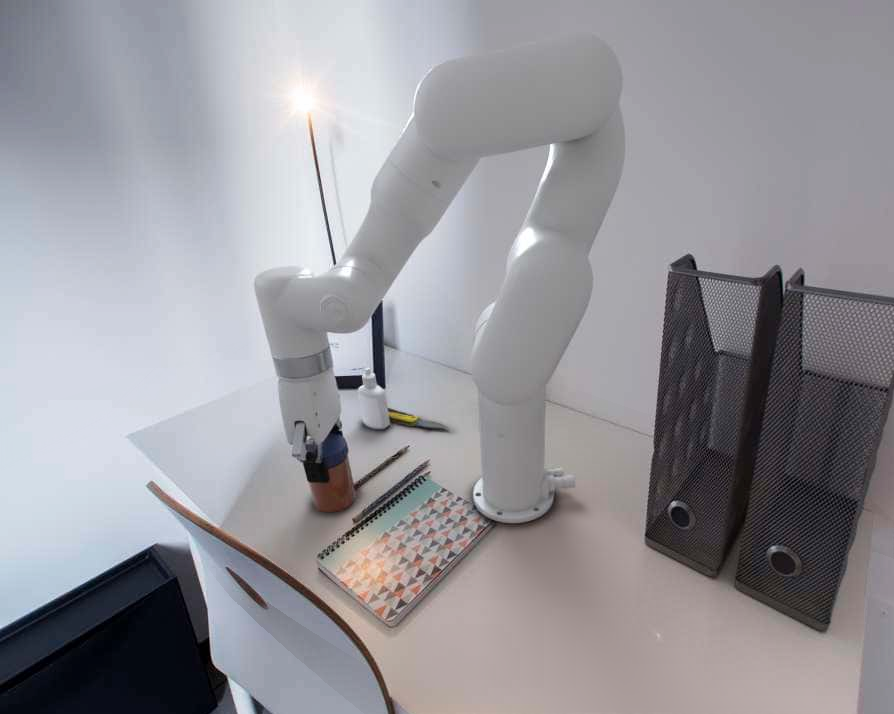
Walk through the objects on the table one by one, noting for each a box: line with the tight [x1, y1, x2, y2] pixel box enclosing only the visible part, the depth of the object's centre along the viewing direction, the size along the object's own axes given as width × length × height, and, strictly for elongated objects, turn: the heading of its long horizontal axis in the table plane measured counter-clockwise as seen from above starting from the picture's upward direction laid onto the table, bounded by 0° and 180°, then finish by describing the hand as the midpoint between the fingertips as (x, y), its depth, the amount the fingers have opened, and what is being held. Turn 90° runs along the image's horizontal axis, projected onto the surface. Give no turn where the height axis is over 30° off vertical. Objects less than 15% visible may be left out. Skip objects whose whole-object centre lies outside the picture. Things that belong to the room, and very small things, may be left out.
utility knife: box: [388, 407, 450, 430], centre depth 103 cm, size 16×1×3 cm
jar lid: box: [307, 433, 349, 468], centre depth 79 cm, size 7×7×2 cm
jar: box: [308, 454, 357, 513], centre depth 81 cm, size 6×6×10 cm
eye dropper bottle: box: [357, 367, 391, 430], centre depth 100 cm, size 4×6×12 cm
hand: (327, 465), depth 81 cm, fingers closed on jar lid, 6 cm apart
